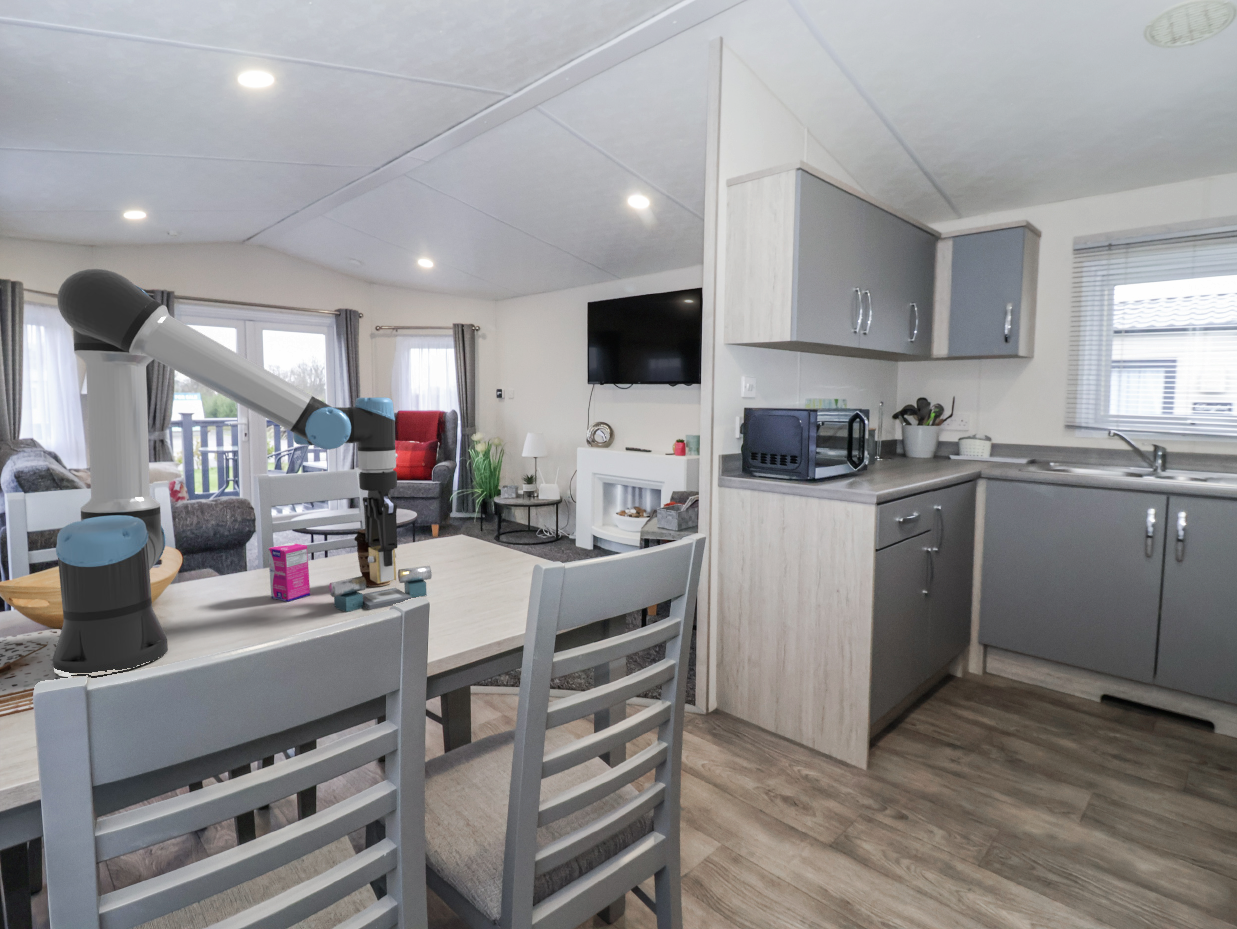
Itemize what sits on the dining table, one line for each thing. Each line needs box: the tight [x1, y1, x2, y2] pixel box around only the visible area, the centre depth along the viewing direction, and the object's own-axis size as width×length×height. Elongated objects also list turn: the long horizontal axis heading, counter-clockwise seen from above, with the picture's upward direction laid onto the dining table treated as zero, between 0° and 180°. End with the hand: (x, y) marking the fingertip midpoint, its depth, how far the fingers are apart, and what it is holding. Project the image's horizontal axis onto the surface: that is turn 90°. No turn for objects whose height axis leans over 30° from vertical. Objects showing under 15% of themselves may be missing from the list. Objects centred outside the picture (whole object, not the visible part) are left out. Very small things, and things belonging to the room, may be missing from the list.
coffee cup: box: [354, 528, 391, 588], centre depth 154 cm, size 9×8×13 cm
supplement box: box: [267, 542, 311, 603], centre depth 144 cm, size 6×6×12 cm
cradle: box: [362, 587, 413, 611], centre depth 142 cm, size 9×9×1 cm
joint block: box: [368, 546, 397, 583], centre depth 141 cm, size 6×4×7 cm
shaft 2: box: [397, 565, 433, 599], centre depth 146 cm, size 7×5×6 cm
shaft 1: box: [328, 575, 367, 613], centre depth 137 cm, size 7×5×6 cm
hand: (382, 577), depth 141 cm, fingers closed on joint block, 4 cm apart
